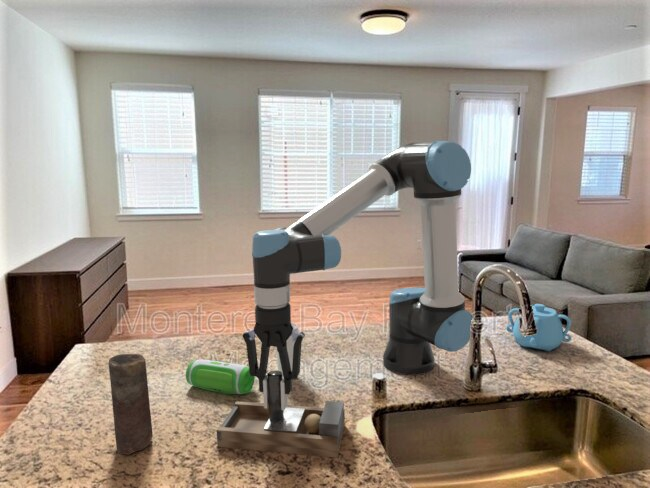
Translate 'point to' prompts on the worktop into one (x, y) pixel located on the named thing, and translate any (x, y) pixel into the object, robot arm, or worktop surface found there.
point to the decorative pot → (542, 329)
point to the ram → (278, 418)
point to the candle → (130, 402)
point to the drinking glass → (289, 348)
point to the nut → (312, 423)
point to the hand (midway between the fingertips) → (276, 405)
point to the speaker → (220, 376)
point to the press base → (248, 432)
